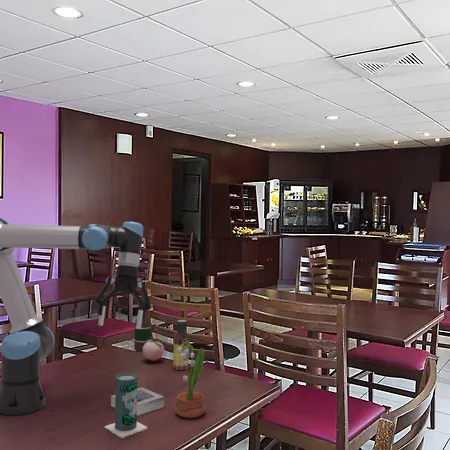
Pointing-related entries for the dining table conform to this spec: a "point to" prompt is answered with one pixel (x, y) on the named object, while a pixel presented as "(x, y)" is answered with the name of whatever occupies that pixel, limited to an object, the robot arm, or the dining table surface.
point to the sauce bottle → (178, 342)
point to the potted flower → (191, 386)
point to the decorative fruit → (153, 350)
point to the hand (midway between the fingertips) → (119, 327)
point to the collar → (145, 401)
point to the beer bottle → (142, 332)
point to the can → (126, 402)
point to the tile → (125, 433)
